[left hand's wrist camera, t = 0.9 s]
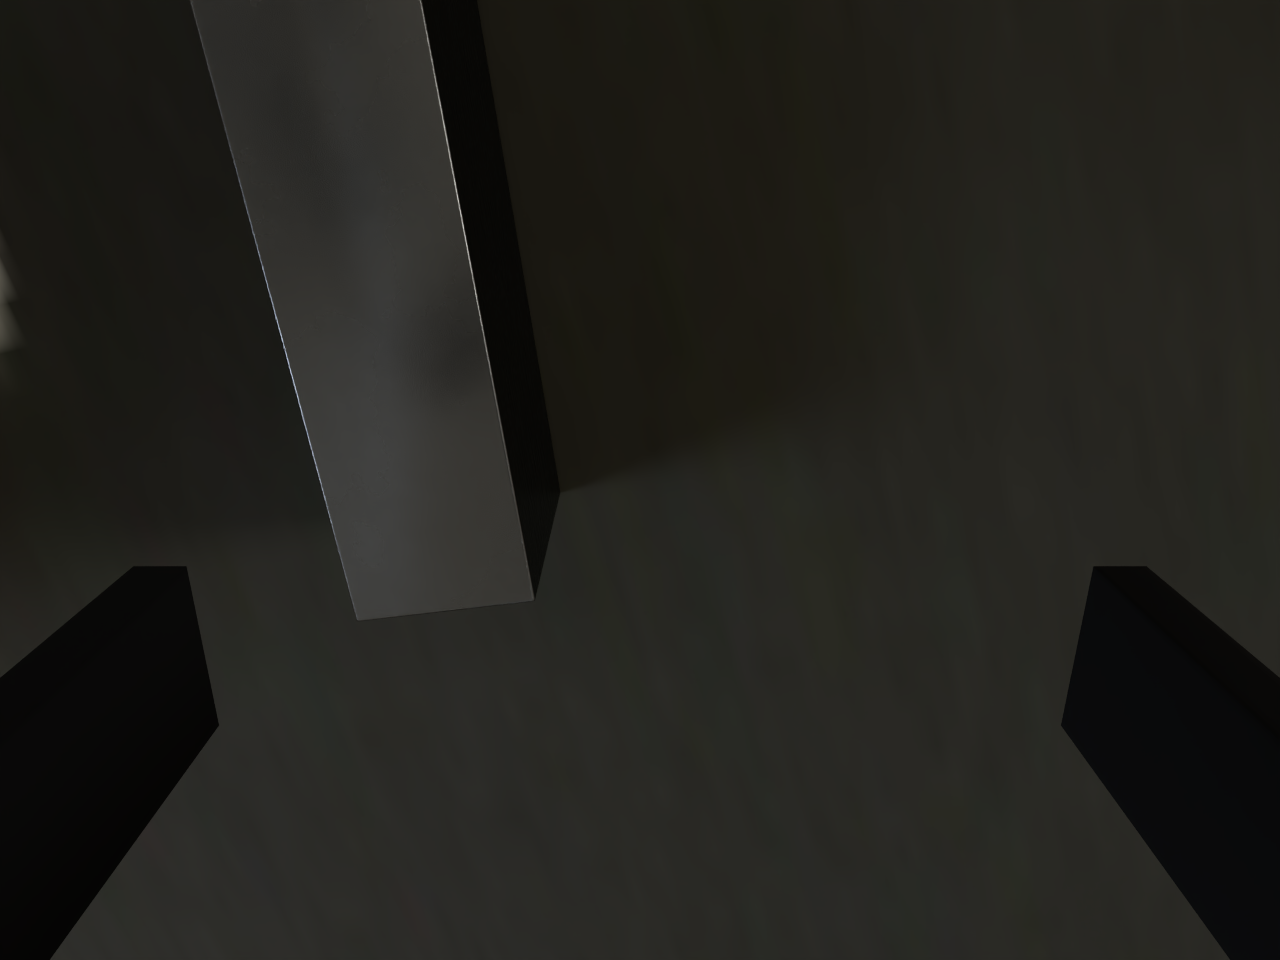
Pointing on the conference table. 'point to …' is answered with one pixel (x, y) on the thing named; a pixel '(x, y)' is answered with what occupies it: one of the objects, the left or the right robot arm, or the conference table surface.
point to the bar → (394, 288)
